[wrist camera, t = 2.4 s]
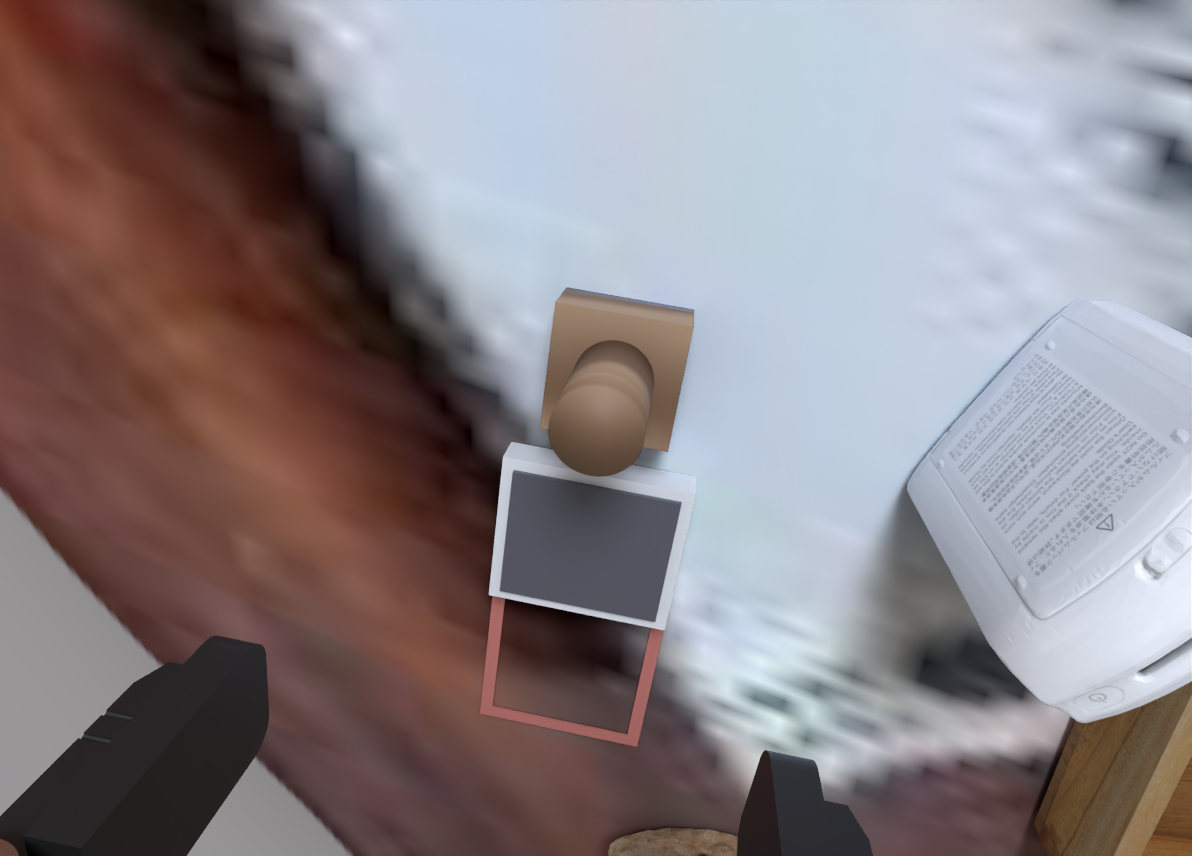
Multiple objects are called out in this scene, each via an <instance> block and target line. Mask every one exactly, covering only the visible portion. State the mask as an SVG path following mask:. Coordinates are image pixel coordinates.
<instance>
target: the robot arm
mask: <svg viewBox="0 0 1192 856" xmlns="http://www.w3.org/2000/svg"><path fill="white" fill-rule="evenodd" d="M268 721H269V703H268V684H267V664H266V652H265V649H264V647H263V646H262V645H260V644H255V643H250V642H245V641H241V640H236V639H231V638H226V637H221V636H213V637H210V638H209V639H207V640H206V641H205V642H204V643H203V644H202V645H201V646H200V647H199V648H198V649H197V650H196V652H195V653H194V654H193V655H192V656H191V657H190V658H189V659H188V660H187V661H186V662H185V663H184V664H183V665H182V664H177V663H172V662H169V663H167V664H165V665H164V666H162V667H160V668H158V669H157V670H155V671H153V672H151V673H150V674H148V675H146V676H145V677H143V678H141V679H139V680H138V681H136V682H134V683H133V684H132V685H131V686H130V687H129V688H128V689H127V690H126V691H125V692H124V693H123V694H122V695H121V696H120V697H119V698H118V699H117V700H116V701H115V702H114V703H113V704H112V705H111V706H110V707H109V708H108V709H107V712H106V714H105V715H104V716H102V715H101V716H100V717H99V718H98V719H97V720H96V721H95V722H94V723H93V724H92V725H91V726H90V727H89V728H88V729H87V730H86V731H85V732H84V735H83V737H82V738H81V739H79V738H78V739H77V740H76V741H75V742H74V743H73V744H72V745H71V746H70V747H69V748H68V749H67V750H66V751H65V752H64V753H63V754H62V755H61V756H60V757H59V758H58V759H57V760H56V761H55V762H54V763H53V764H52V765H51V766H50V767H49V768H48V769H47V770H46V771H45V772H44V773H43V774H42V775H41V776H40V777H39V778H38V779H37V780H36V781H35V782H34V783H33V784H32V785H31V786H30V787H29V788H28V789H27V790H26V791H25V792H24V793H23V794H22V795H21V796H20V797H19V798H18V799H17V800H16V801H15V802H14V803H13V804H12V805H11V806H10V807H9V808H8V809H7V810H6V811H5V812H4V813H3V814H2V815H1V816H0V856H187V854H188V853H189V851H190V850H191V848H192V847H193V846H194V844H195V843H196V841H197V840H198V838H199V837H200V835H201V834H202V833H203V831H204V830H205V828H206V827H207V825H208V824H209V822H210V821H211V820H212V818H213V817H214V815H215V814H216V812H217V811H218V809H219V808H220V806H221V805H222V804H223V802H224V801H225V799H226V798H227V796H228V795H229V793H230V792H231V791H232V789H233V788H234V786H235V785H236V783H237V782H238V781H239V779H240V778H241V776H242V775H243V773H244V772H245V770H246V769H247V768H248V766H249V765H250V763H251V762H252V760H253V759H254V757H255V756H256V754H257V752H258V751H259V749H260V747H261V744H262V742H263V739H264V737H265V734H266V730H267V726H268ZM737 856H873V854H872V850H871V846H870V842H869V839H868V838H867V836H866V834H865V833H864V831H863V830H862V828H861V826H860V825H859V823H858V822H857V820H856V818H855V817H854V815H853V814H852V812H851V811H850V809H849V807H848V806H847V805H843V804H838V803H833V802H828V801H824V798H823V793H822V788H821V782H820V777H819V772H818V768H817V765H816V763H815V761H813V760H810V759H805V758H800V757H795V756H790V755H786V754H781V753H776V752H771V751H766V750H765V751H764V752H763V753H762V755H761V758H760V761H759V764H758V767H757V770H756V773H755V776H754V779H753V783H752V786H751V789H750V792H749V795H748V798H747V801H746V804H745V807H744V810H743V814H742V817H741V821H740V826H739V832H738V841H737Z"/></svg>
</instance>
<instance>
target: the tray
mask: <svg viewBox="0 0 1192 856" xmlns="http://www.w3.org/2000/svg"><path fill="white" fill-rule="evenodd" d="M1034 825H1035V828H1036V830H1037V832H1038V834H1039V837H1040V841H1041V843H1042V845H1043V847H1044V850H1045V852H1046V854H1047V856H1192V681H1191V682H1190V683H1188V684H1186V685H1184V686H1182V687H1180V688H1178V689H1177V690H1175V691H1173V692H1171V693H1169V694H1167V695H1165V696H1162V697H1160V698H1158V699H1156V700H1154V701H1151V702H1149V703H1147V704H1145V705H1143V706H1140V707H1137V708H1135V709H1132V710H1129V711H1126V712H1124V713H1121V714H1118V715H1115V716H1111V717H1107V718H1104V719H1100V720H1096V721H1093V722H1089V723H1080V722H1077V721H1076V720H1075V722H1074V724H1073V727H1072V729H1071V732H1070V735H1069V737H1068V740H1067V742H1066V745H1065V747H1064V750H1063V752H1062V755H1061V757H1060V760H1059V762H1058V765H1057V767H1056V770H1055V772H1054V775H1053V777H1052V780H1051V782H1050V785H1049V787H1048V790H1047V792H1046V795H1045V797H1044V800H1043V802H1042V805H1041V807H1040V809H1039V812H1038V814H1037V817H1036V820H1035V823H1034Z"/></svg>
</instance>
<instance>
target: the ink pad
mask: <svg viewBox="0 0 1192 856" xmlns="http://www.w3.org/2000/svg"><path fill="white" fill-rule="evenodd" d="M695 497H696V477H695V476H690V475H684V474H679V473H674V472H668V471H663V470H658V469H652V468H647V467H642V466H637V465H630V466H629V467H628V468H626V469H625V470H623V471H621V472H619V473H617V474H614V475H610V476H602V477H595V476H588V475H584V474H581V473H579V472H577V471H575V470H573V469H571V468H570V467H568V466H567V465H565V464H564V463H563V462H562V461H561V460H560V459H559V458H558V456H557V455H556V453H555V452H554V450H552V449H547V448H541V447H536V446H531V445H525V444H520V443H515V442H511V444H510V446H509V447H508V449H507V451H506V453H505V454H504V456H503V463H502V472H501V482H500V492H499V501H498V511H497V521H496V530H495V540H494V550H493V559H492V569H491V579H490V588H489V595H491V596H496V597H501V598H506V599H511V600H516V601H521V602H526V603H531V604H536V605H541V606H546V607H550V608H555V609H560V610H565V611H570V612H575V613H580V614H585V615H590V616H595V617H600V618H605V619H610V620H615V621H620V622H625V623H630V624H635V625H640V626H645V627H649V628H654V629H659V630H664V631H665V627H666V623H667V618H668V614H669V610H670V605H671V601H672V597H673V592H674V588H675V584H676V579H677V575H678V571H679V566H680V562H681V558H682V553H683V549H684V545H685V540H686V536H687V532H688V527H689V523H690V519H691V514H692V510H693V506H694V501H695Z"/></svg>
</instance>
